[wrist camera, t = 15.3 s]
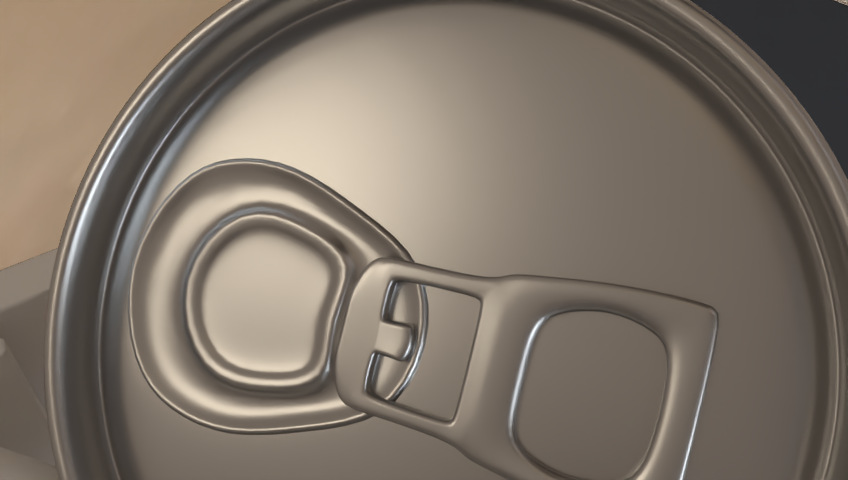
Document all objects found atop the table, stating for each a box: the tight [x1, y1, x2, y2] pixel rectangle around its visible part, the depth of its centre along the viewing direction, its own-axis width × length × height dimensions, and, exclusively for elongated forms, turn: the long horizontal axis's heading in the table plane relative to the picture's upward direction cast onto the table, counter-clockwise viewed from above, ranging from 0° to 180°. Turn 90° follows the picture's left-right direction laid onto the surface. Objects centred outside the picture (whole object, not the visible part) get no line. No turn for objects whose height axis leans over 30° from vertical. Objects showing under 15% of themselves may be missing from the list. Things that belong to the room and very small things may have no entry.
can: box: [44, 0, 848, 480], centre depth 11 cm, size 6×6×12 cm
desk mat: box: [690, 0, 848, 180], centre depth 22 cm, size 20×18×1 cm
